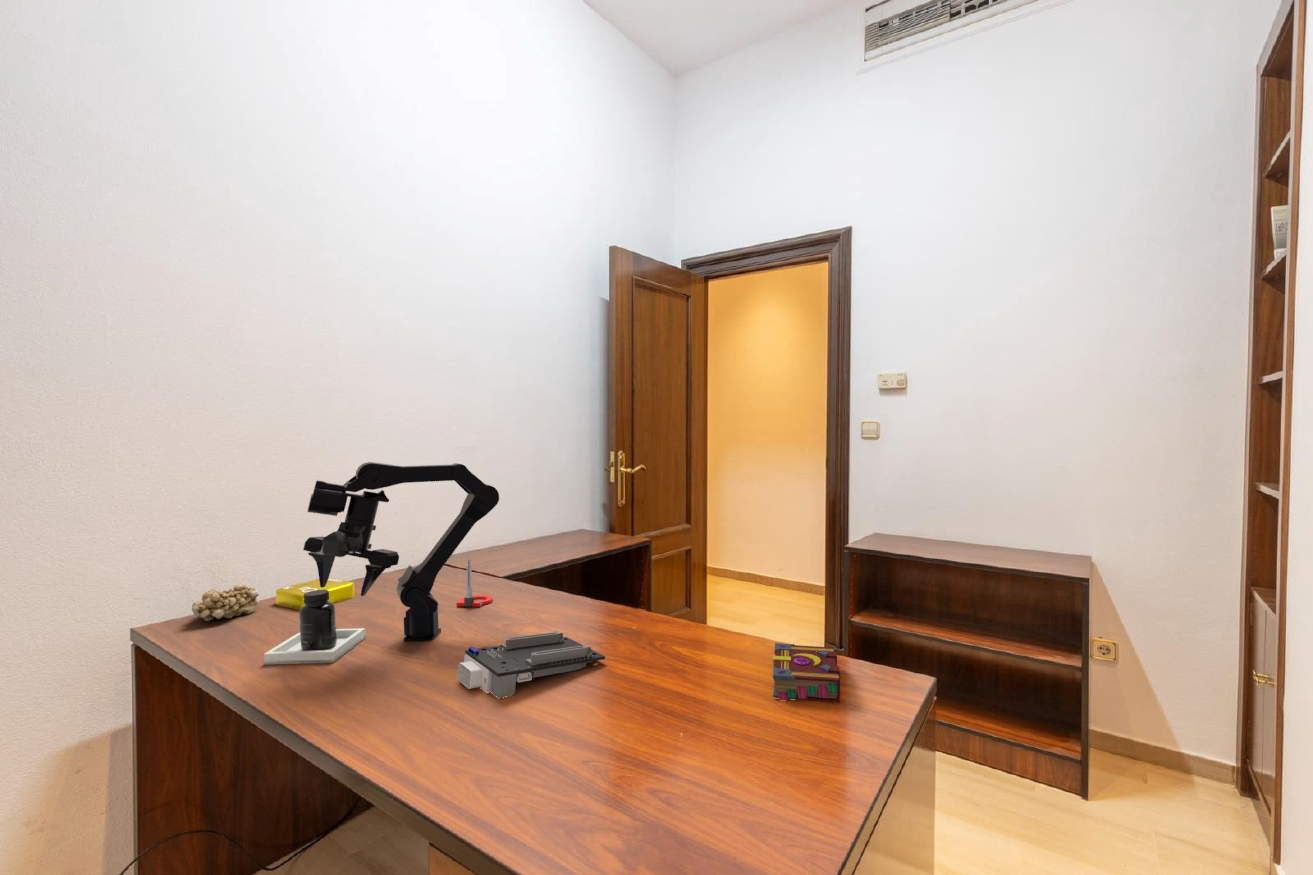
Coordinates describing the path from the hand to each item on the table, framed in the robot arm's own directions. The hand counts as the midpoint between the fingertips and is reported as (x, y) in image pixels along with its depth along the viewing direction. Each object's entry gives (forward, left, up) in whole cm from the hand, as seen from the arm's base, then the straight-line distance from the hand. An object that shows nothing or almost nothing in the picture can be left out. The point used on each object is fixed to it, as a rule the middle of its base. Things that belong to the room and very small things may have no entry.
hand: (342, 591), depth 128 cm
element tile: (+28, -40, -14) cm, 50 cm away
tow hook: (-19, -33, -13) cm, 40 cm away
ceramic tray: (+6, -1, -13) cm, 14 cm away
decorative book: (-94, +23, -13) cm, 97 cm away
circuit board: (-42, +13, -14) cm, 46 cm away
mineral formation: (+44, -25, -13) cm, 53 cm away
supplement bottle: (+6, -1, -13) cm, 14 cm away
